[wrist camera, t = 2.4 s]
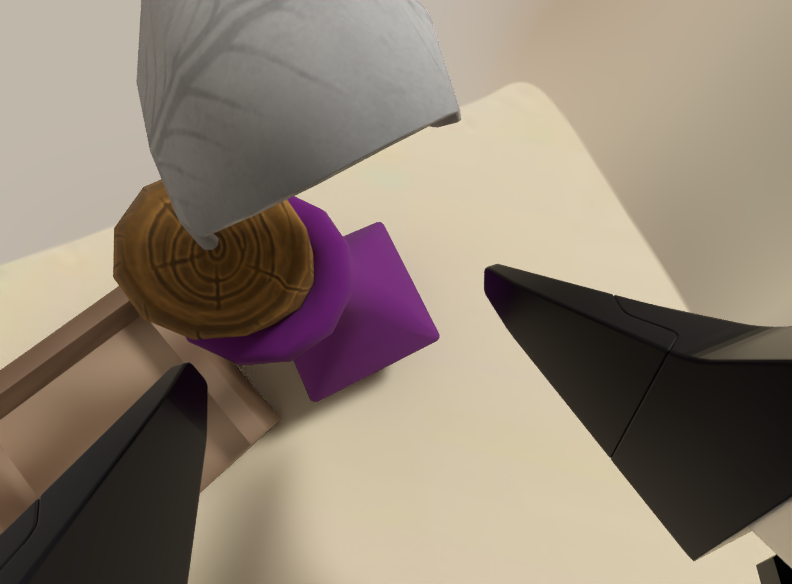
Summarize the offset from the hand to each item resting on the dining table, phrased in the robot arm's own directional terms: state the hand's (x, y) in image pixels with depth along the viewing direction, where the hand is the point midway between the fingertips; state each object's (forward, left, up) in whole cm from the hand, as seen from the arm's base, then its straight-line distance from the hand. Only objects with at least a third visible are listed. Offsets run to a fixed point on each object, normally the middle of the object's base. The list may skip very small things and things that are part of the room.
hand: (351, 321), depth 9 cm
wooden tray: (+12, +6, -10) cm, 17 cm away
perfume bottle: (+1, -2, -11) cm, 11 cm away
